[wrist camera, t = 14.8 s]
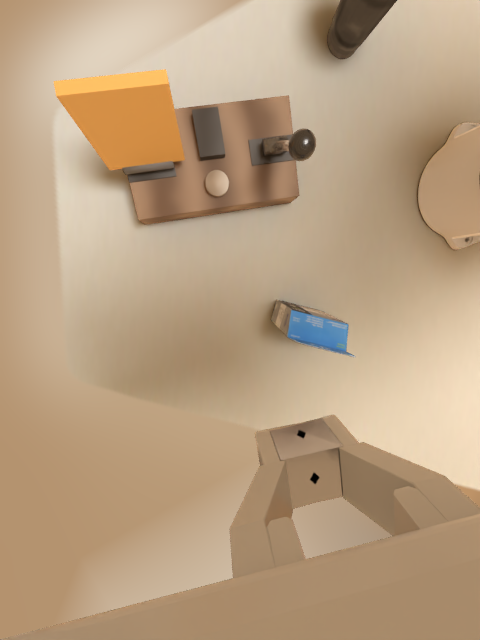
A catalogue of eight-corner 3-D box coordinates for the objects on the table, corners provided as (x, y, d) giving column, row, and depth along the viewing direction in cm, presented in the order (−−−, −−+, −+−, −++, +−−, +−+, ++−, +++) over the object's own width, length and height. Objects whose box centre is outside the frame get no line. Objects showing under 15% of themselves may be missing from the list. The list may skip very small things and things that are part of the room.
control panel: (280, 113, 37) (291, 89, 32) (290, 202, 39) (302, 193, 34) (124, 132, 35) (110, 110, 30) (145, 224, 38) (135, 218, 33)
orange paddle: (184, 155, 33) (165, 65, 21) (186, 169, 33) (169, 87, 21) (112, 165, 32) (52, 77, 21) (115, 179, 32) (56, 99, 21)
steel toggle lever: (283, 132, 33) (323, 125, 23) (284, 156, 34) (321, 159, 25) (261, 135, 33) (291, 129, 23) (262, 159, 34) (291, 163, 24)
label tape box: (324, 311, 44) (367, 328, 32) (317, 334, 44) (356, 359, 32) (276, 298, 42) (302, 311, 30) (269, 322, 43) (292, 344, 31)
